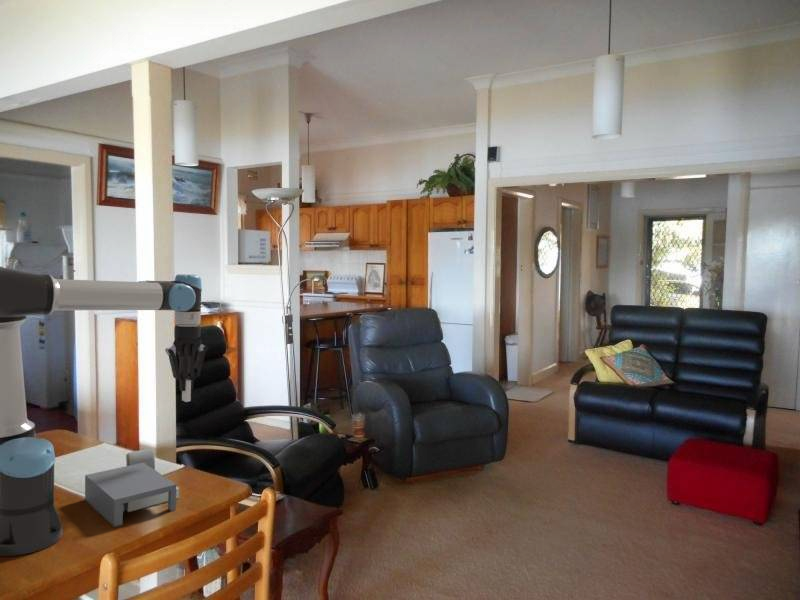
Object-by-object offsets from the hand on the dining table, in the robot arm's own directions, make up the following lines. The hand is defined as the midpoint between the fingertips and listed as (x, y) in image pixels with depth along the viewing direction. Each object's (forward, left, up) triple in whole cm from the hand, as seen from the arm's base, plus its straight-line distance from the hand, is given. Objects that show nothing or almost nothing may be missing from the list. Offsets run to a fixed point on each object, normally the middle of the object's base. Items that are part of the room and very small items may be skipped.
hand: (186, 400), depth 179 cm
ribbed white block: (-15, -9, -24) cm, 30 cm away
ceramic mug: (-9, +10, -25) cm, 28 cm away
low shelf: (-20, -9, -24) cm, 33 cm away
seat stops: (-24, -9, -24) cm, 35 cm away
